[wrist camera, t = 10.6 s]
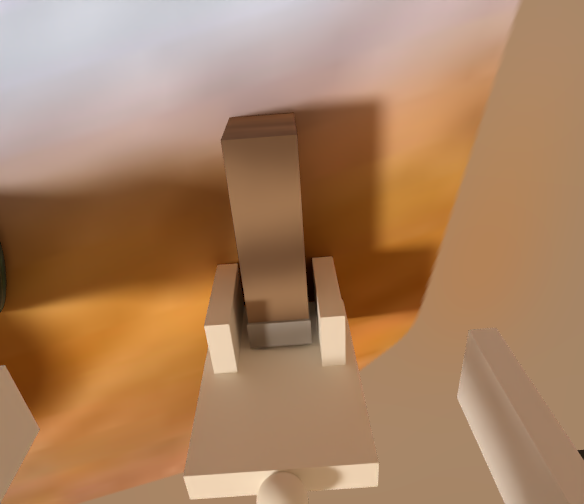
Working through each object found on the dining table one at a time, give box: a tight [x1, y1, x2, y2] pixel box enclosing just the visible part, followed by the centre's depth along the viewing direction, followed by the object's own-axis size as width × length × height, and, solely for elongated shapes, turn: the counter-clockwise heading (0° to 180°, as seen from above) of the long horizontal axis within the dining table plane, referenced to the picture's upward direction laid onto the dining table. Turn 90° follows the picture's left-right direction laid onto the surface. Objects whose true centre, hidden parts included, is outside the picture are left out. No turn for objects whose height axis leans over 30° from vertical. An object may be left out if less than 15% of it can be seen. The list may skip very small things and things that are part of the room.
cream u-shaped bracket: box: [183, 256, 379, 504], centre depth 27 cm, size 6×10×16 cm, turn 94°
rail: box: [221, 113, 312, 348], centre depth 29 cm, size 14×4×5 cm, turn 4°
